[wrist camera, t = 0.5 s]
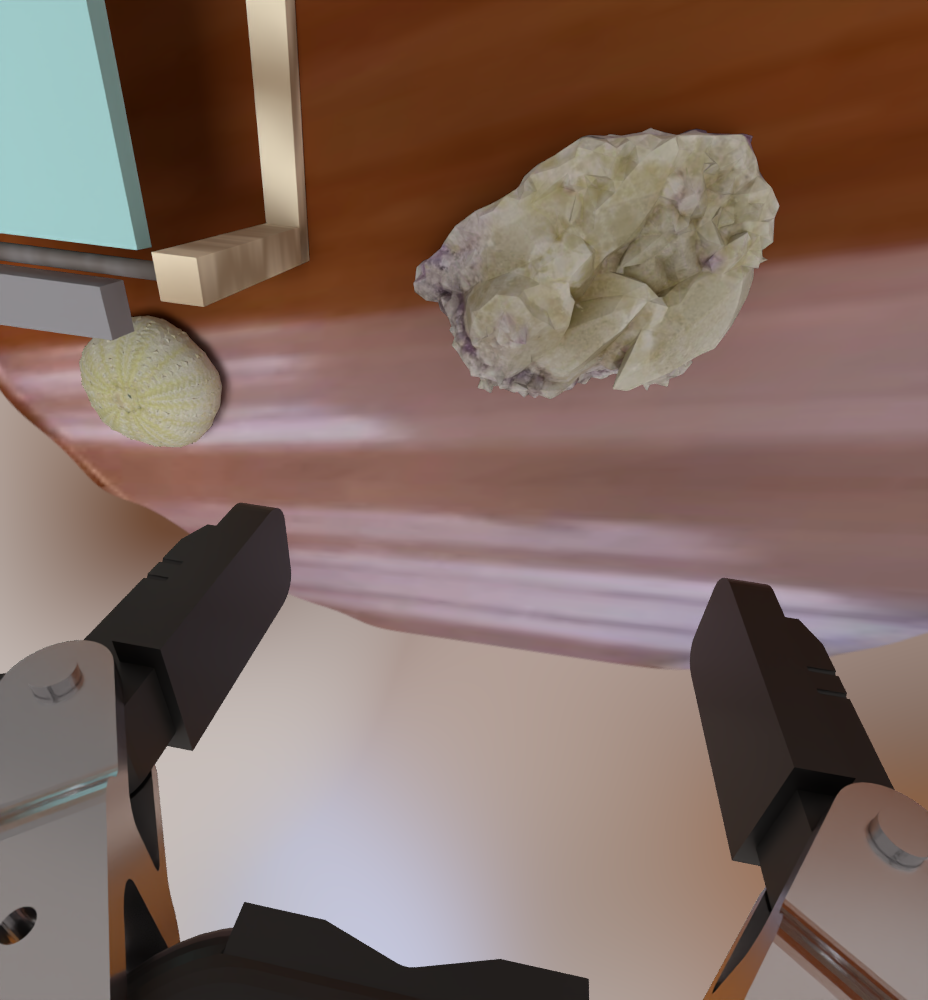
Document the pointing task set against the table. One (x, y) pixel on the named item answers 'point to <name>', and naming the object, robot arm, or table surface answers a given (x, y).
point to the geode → (606, 262)
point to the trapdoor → (65, 163)
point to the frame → (284, 238)
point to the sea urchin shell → (152, 384)
